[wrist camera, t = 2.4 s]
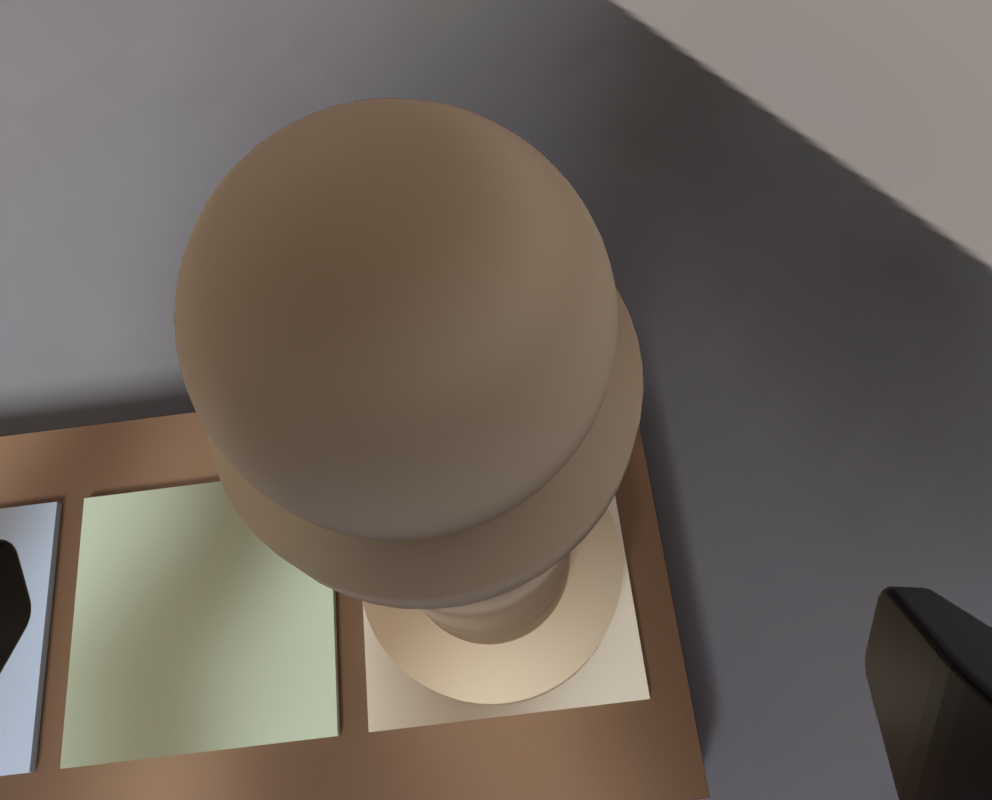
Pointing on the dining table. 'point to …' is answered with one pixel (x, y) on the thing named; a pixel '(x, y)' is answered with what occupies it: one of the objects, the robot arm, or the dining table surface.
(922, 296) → the dining table surface
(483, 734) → the game board
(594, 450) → the pawn
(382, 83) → the dining table surface
